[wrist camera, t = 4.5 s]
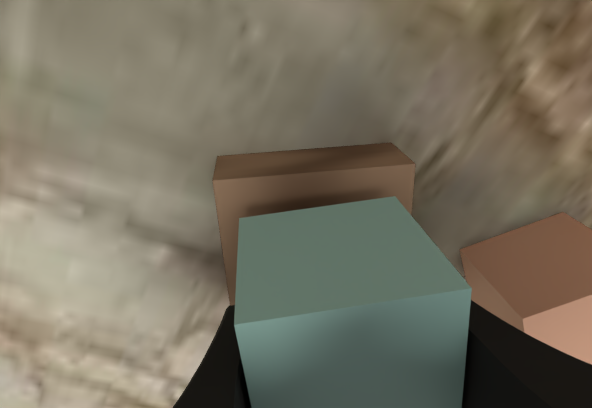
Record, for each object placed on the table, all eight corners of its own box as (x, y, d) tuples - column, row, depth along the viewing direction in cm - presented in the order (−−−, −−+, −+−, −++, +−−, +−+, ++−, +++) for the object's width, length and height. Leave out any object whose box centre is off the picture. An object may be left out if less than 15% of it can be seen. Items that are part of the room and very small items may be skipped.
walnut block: (388, 140, 17) (415, 164, 14) (381, 280, 20) (403, 322, 17) (218, 153, 17) (212, 180, 14) (236, 295, 20) (235, 341, 17)
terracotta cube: (561, 211, 19) (658, 271, 15) (568, 292, 21) (655, 366, 17) (458, 248, 19) (522, 319, 15) (475, 325, 22) (535, 407, 17)
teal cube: (394, 196, 13) (472, 287, 9) (396, 319, 15) (458, 446, 11) (239, 218, 13) (234, 325, 8) (261, 340, 15) (267, 479, 10)
